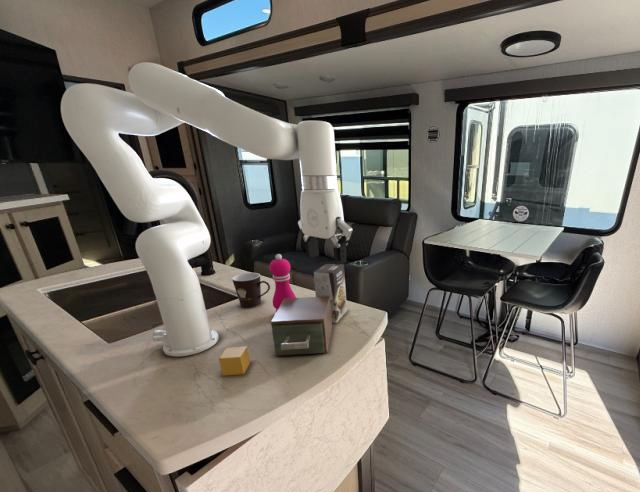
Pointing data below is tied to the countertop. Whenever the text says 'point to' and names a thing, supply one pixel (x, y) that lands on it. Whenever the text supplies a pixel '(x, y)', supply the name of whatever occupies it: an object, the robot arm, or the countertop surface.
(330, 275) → the coffee box
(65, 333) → the countertop surface
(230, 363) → the block
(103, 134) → the robot arm
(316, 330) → the drawer
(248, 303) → the coffee mug
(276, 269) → the pepper mill
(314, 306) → the cabinet
